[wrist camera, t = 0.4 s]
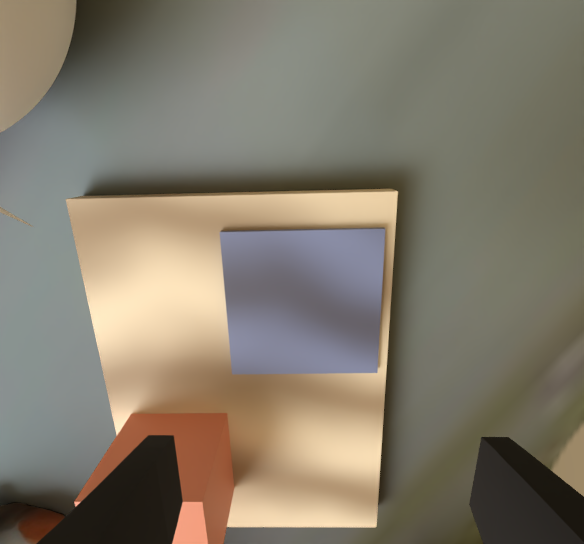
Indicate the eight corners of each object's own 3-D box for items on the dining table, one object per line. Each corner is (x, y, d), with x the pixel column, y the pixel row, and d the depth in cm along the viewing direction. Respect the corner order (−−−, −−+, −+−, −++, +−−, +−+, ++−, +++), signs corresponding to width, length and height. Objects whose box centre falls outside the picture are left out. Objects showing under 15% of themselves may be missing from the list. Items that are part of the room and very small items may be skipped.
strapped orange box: (234, 488, 20) (213, 596, 15) (145, 488, 20) (96, 595, 15) (227, 412, 19) (200, 505, 14) (131, 413, 19) (70, 505, 14)
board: (372, 507, 22) (386, 577, 18) (144, 507, 22) (115, 575, 19) (390, 188, 16) (417, 198, 13) (82, 195, 17) (21, 207, 13)
